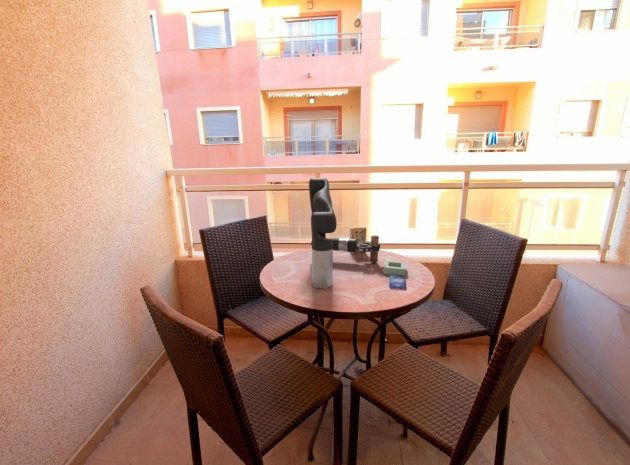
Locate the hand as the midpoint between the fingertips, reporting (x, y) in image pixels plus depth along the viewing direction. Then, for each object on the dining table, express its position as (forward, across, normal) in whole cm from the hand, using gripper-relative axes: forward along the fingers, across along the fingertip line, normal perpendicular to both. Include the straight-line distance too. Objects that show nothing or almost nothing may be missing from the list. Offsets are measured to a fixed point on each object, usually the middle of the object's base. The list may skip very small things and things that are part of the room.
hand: (379, 247), depth 155 cm
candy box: (-14, +16, +9) cm, 23 cm away
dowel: (-3, 0, +8) cm, 8 cm away
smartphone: (+10, -22, +10) cm, 26 cm away
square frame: (+8, -9, +9) cm, 15 cm away
